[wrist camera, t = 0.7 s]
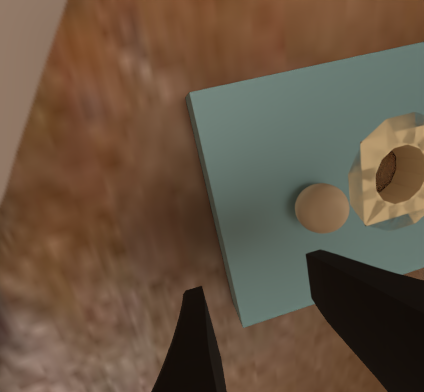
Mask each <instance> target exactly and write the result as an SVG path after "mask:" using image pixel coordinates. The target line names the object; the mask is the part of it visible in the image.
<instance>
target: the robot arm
mask: <svg viewBox="0 0 424 392" xmlns="http://www.w3.org/2000/svg"><path fill="white" fill-rule="evenodd" d="M306 262H307V269H308V277H309V285H310V292H311V298H312V300H313V301H314V303H315V304H316V306H317V307H318V309H319V310H320V312H321V313H322V315H323V316H324V318H325V319H326V320H327V322H328V323H329V324H330V325H331V326H332V328H333V329H334V330H335V331H336V332H337V333H338V335H339V336H340V337H341V338H342V339H343V340H344V341H345V343H346V344H347V345H348V346H349V347H350V348H351V349H352V350H353V352H354V353H355V354H356V355H357V356H358V357H359V358H360V360H361V361H362V362H363V363H364V364H365V365H366V366H367V368H368V369H369V370H370V371H371V372H372V373H373V374H374V375H375V377H376V378H377V379H378V380H379V381H380V383H381V384H382V385H383V386H384V388H385V389H386V390H387V391H388V392H424V281H423V280H419V279H416V278H412V277H408V276H405V275H401V274H397V273H394V272H391V271H387V270H384V269H381V268H377V267H374V266H371V265H368V264H365V263H362V262H359V261H356V260H353V259H350V258H347V257H344V256H341V255H338V254H335V253H332V252H328V251H325V250H321V249H319V250H316V251H313V252H310V253H306ZM151 392H227V391H226V385H225V379H224V373H223V367H222V361H221V356H220V352H219V349H218V345H217V341H216V337H215V333H214V329H213V326H212V322H211V318H210V315H209V311H208V307H207V303H206V300H205V296H204V292H203V289H202V286H199V287H196V288H193V289H190V290H186V291H185V292H184V294H183V301H182V306H181V311H180V315H179V319H178V322H177V326H176V329H175V333H174V336H173V339H172V342H171V345H170V348H169V350H168V353H167V356H166V359H165V361H164V364H163V366H162V369H161V371H160V374H159V376H158V378H157V380H156V383H155V385H154V387H153V389H152V391H151Z"/></svg>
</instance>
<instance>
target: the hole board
mask: <svg viewBox="0 0 424 392" xmlns="http://www.w3.org/2000/svg"><path fill="white" fill-rule="evenodd" d="M185 98H186V103H187V107H188V111H189V115H190V120H191V124H192V128H193V133H194V137H195V141H196V145H197V150H198V154H199V158H200V162H201V167H202V171H203V175H204V180H205V184H206V188H207V192H208V197H209V201H210V205H211V210H212V214H213V218H214V222H215V227H216V231H217V235H218V239H219V244H220V248H221V252H222V257H223V261H224V265H225V269H226V274H227V278H228V282H229V287H230V291H231V295H232V299H233V304H234V307H235V309H236V312H237V314H238V317H239V319H240V321H241V324H242V326H243V328H244V327H247V326H250V325H253V324H256V323H259V322H262V321H265V320H268V319H271V318H274V317H277V316H280V315H283V314H286V313H289V312H292V311H295V310H298V309H301V308H304V307H307V306H310V305H313V304H315V303H314V301H313V300H312V298H311V292H310V285H309V277H308V269H307V262H306V253H310V252H313V251H316V250H319V249H321V250H325V251H328V252H332V253H335V254H338V255H341V256H344V257H347V258H350V259H353V260H356V261H359V262H362V263H365V264H368V265H371V266H374V267H377V268H381V269H384V270H387V271H391V272H394V273H397V274H401V275H402V274H405V273H408V272H411V271H414V270H417V269H420V268H423V267H424V42H421V43H416V44H412V45H407V46H402V47H398V48H393V49H389V50H384V51H379V52H375V53H370V54H365V55H361V56H356V57H351V58H347V59H342V60H338V61H333V62H328V63H324V64H319V65H314V66H310V67H305V68H300V69H296V70H291V71H287V72H282V73H277V74H273V75H268V76H263V77H259V78H254V79H250V80H245V81H240V82H236V83H231V84H226V85H222V86H217V87H212V88H208V89H203V90H199V91H194V92H189V94H188V95H187V96H186V97H185ZM390 151H393V153H394V154H395V156H396V171H395V174H394V176H393V178H392V180H391V183H390V184H389V185H387V186H386V187H385V188H384V189H383V190H382V191H381V192H379V193H378V192H377V191H376V178H375V175H376V172H377V170H378V168H379V165H380V163H381V161H382V159H383V158H384V157H385V156H386V155H387V154H388V153H389V152H390ZM317 183H326V184H331V185H333V186H335V187H337V188H339V189H340V190H341V191H342V192H343V193H344V194H345V196H346V197H347V199H348V202H349V215H348V218H347V220H346V222H345V223H344V224H343V225H342V226H341V227H340V228H339V229H338V230H336V231H333V232H331V233H324V234H321V233H315V232H312V231H310V230H308V229H306V228H305V227H304V226H303V225H302V224H301V223H300V222H299V220H298V219H297V216H296V213H295V203H296V200H297V197H298V196H299V194H300V193H301V192H302V191H303V190H304V189H305V188H307V187H308V186H310V185H313V184H317Z"/></svg>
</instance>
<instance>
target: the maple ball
mask: <svg viewBox="0 0 424 392" xmlns="http://www.w3.org/2000/svg"><path fill="white" fill-rule="evenodd" d="M295 213H296V216H297V219H298V220H299V222H300V223H301V224H302V225H303V226H304V227H305V228H306V229H308V230H310V231H312V232H315V233H321V234H324V233H331V232H333V231H336V230H338V229H339V228H340V227H341V226H342V225H343V224H344V223H345V222H346V220H347V218H348V215H349V202H348V199H347V197H346V196H345V194H344V193H343V192H342V191H341V190H340V189H339V188H337V187H335V186H333V185H331V184H326V183H317V184H313V185H310V186H308V187H307V188H305V189H304V190H303V191H302V192H301V193H300V194H299V196H298V197H297V200H296V203H295Z"/></svg>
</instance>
